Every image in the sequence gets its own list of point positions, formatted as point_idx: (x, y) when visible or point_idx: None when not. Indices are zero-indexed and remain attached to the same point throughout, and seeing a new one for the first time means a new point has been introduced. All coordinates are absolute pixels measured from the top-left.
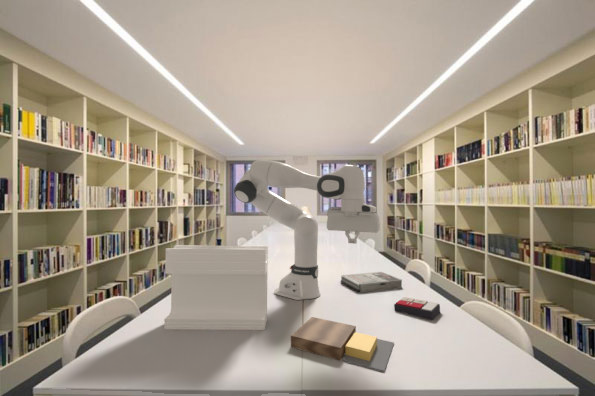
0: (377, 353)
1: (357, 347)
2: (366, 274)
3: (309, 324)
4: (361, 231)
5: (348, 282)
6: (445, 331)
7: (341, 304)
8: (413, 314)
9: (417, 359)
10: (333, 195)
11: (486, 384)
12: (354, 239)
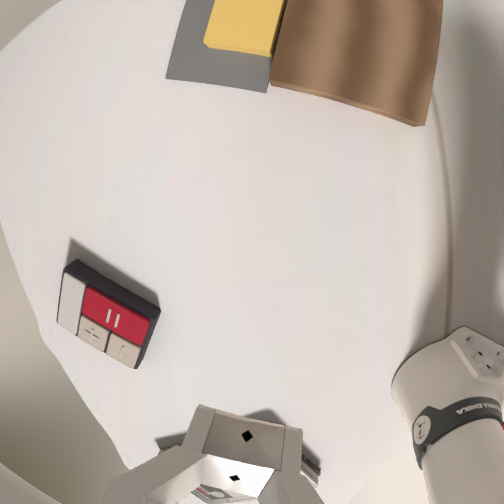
0: (210, 10)
1: None
2: (245, 495)
3: (419, 64)
4: (14, 480)
5: None
6: (56, 199)
7: (326, 329)
8: (112, 283)
9: (125, 31)
10: None
11: (48, 16)
12: (198, 445)
